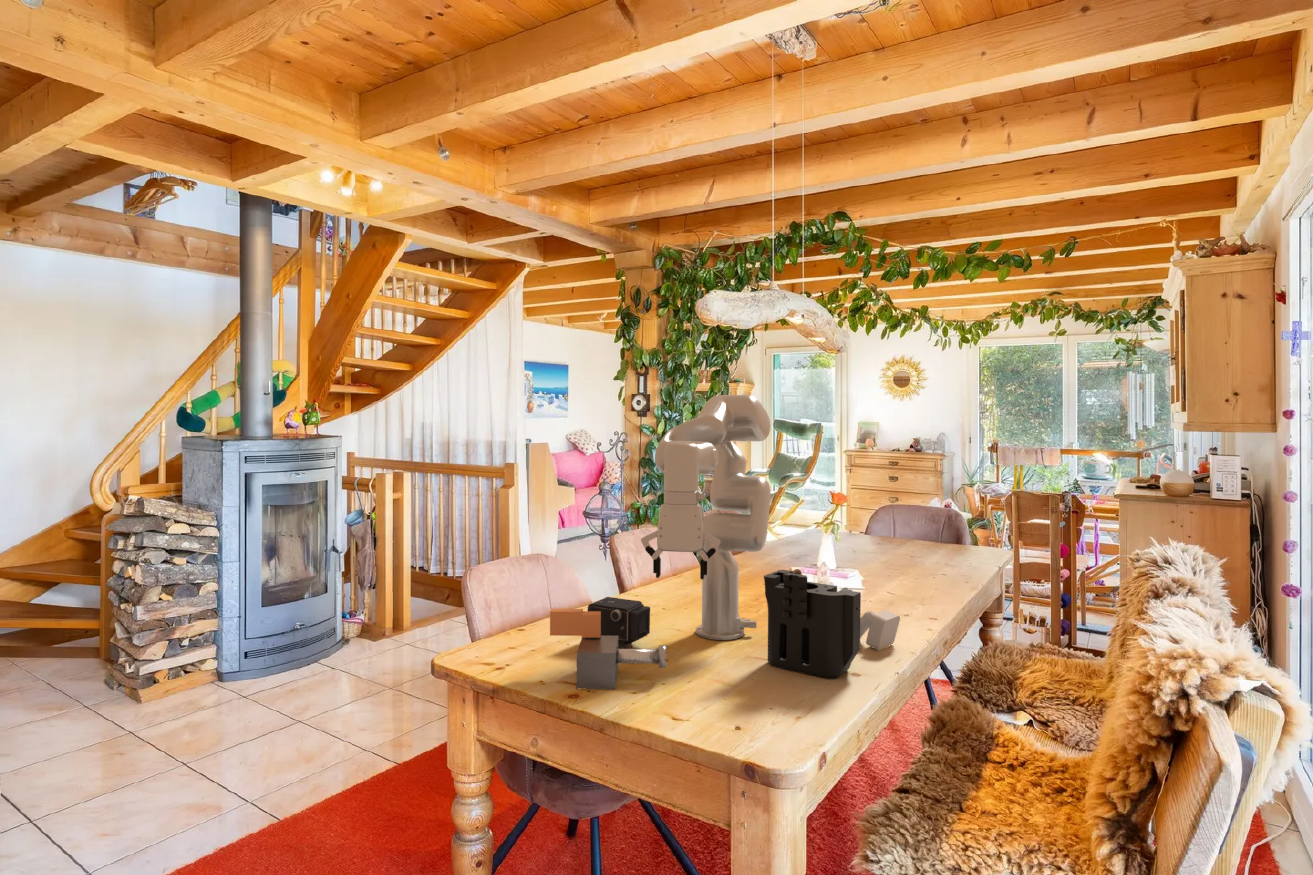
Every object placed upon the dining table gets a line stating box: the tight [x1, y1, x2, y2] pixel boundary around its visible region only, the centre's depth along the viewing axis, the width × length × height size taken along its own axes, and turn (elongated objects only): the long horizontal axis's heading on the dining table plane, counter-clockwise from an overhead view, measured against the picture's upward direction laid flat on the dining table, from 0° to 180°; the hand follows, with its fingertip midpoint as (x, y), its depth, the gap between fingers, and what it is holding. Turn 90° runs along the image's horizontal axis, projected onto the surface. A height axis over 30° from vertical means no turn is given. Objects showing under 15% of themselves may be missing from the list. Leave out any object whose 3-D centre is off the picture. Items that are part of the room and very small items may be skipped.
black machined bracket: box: [763, 569, 862, 680], centre depth 164 cm, size 12×21×22 cm, turn 54°
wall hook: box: [860, 609, 901, 651], centre depth 184 cm, size 8×10×10 cm
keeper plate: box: [549, 608, 601, 638], centre depth 163 cm, size 11×3×6 cm, turn 90°
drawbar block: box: [576, 636, 619, 690], centre depth 158 cm, size 8×12×8 cm, turn 0°
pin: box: [616, 644, 667, 669], centre depth 158 cm, size 16×5×5 cm, turn 90°
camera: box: [587, 596, 651, 649], centre depth 182 cm, size 11×11×15 cm
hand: (680, 577), depth 160 cm, fingers open, 9 cm apart
